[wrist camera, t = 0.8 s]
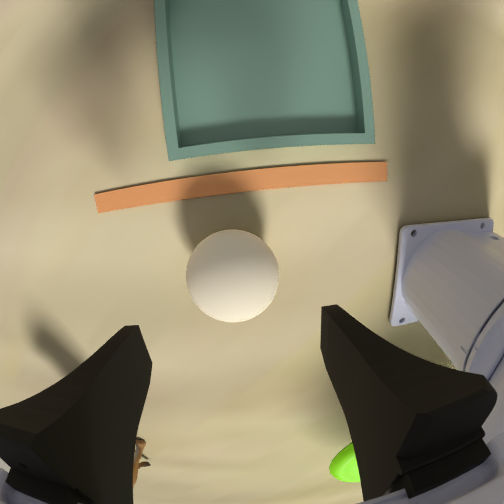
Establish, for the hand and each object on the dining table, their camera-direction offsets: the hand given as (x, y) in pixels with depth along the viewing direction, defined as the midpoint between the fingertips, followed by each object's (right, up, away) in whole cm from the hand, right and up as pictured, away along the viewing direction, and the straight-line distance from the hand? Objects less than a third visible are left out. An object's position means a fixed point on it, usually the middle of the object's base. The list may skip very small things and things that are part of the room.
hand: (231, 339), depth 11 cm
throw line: (0, +7, +6) cm, 9 cm away
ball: (0, +3, +7) cm, 8 cm away
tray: (+1, +14, +3) cm, 15 cm away
